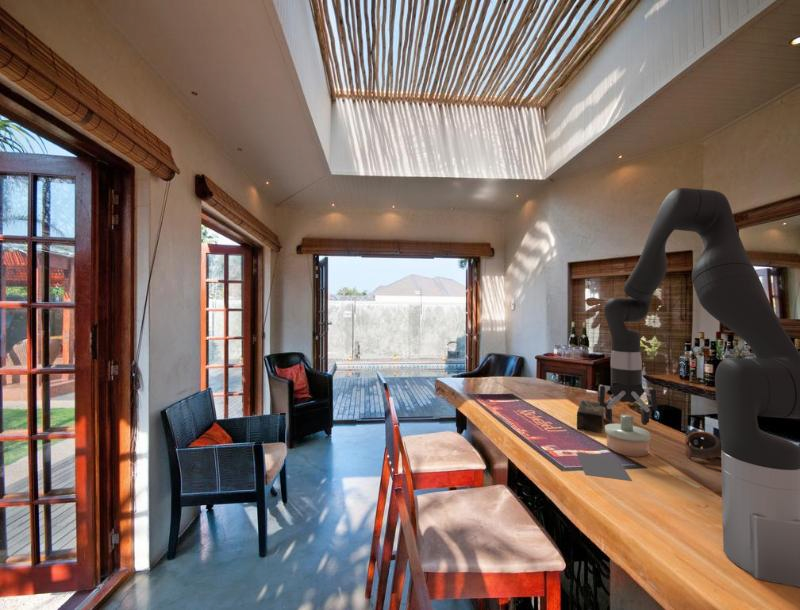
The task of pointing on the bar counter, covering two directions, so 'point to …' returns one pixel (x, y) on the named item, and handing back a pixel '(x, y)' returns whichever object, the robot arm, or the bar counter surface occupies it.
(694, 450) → the pottery mug
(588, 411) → the beverage carton
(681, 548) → the bar counter surface
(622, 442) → the bowl
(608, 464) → the mat
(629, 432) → the lid
